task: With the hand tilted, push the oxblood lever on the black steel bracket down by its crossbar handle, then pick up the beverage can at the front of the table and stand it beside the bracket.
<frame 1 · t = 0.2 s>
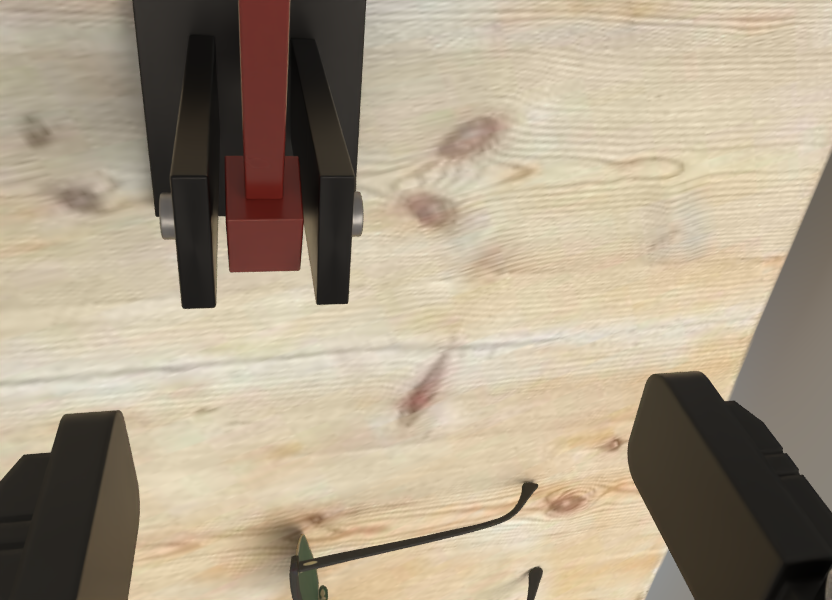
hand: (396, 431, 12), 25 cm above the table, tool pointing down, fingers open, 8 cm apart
bracket: (253, 80, 33), on the table
lever: (263, 91, 19), point 14 cm above the table, hinge at 25.0°
sunglasses: (423, 552, 55), on the table
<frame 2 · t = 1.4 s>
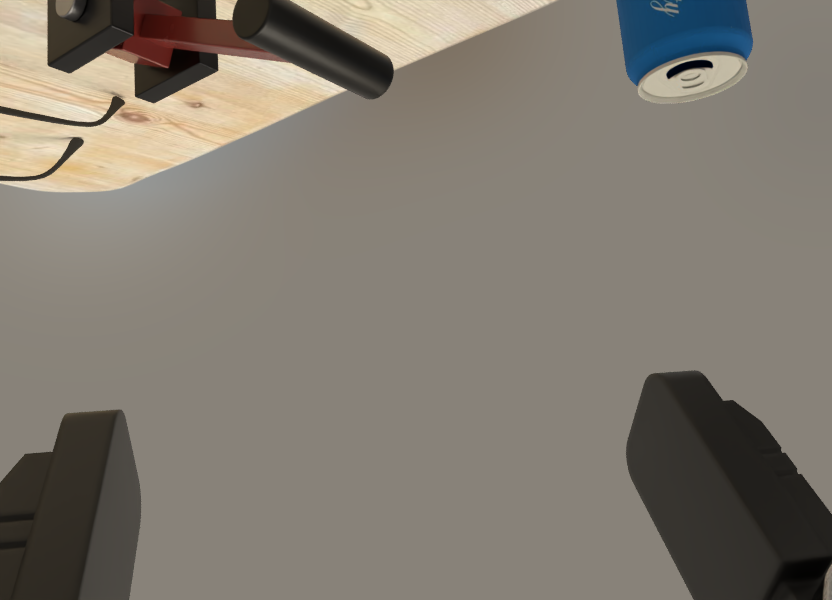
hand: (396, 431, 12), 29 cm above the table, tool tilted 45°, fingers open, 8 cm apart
lever: (211, 36, 29), point 14 cm above the table, hinge at 25.0°
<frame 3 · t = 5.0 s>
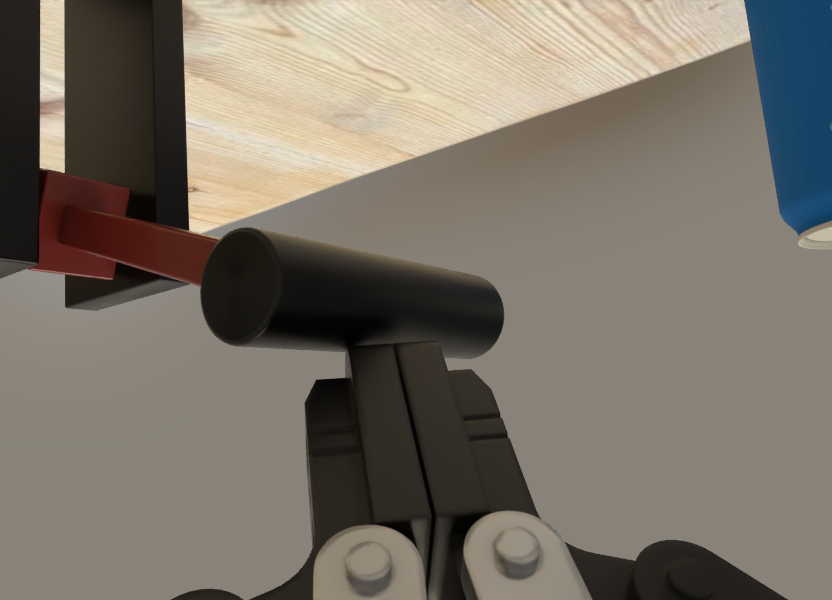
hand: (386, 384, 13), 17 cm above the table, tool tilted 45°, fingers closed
lever: (174, 251, 17), point 14 cm above the table, hinge at 20.6°, touching gripper
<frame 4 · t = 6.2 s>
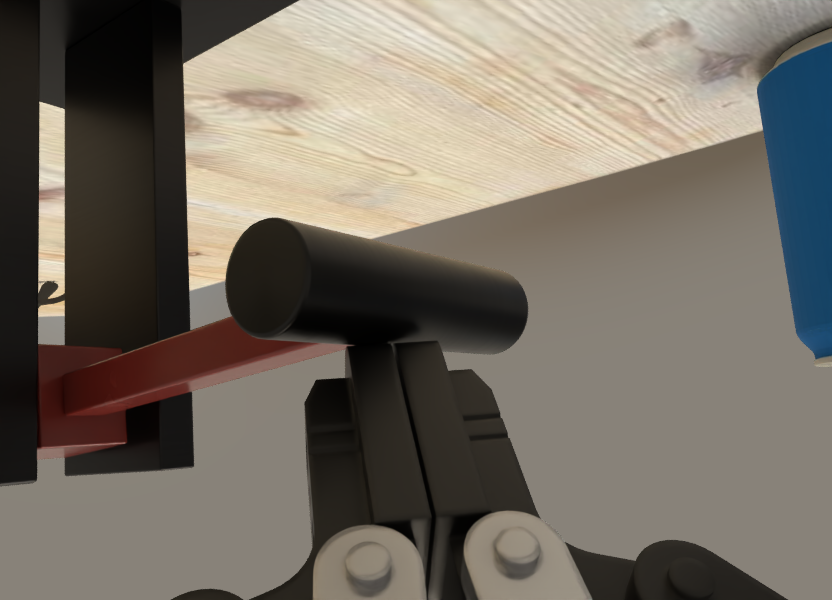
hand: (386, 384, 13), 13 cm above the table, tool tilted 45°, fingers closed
lever: (184, 364, 16), point 12 cm above the table, hinge at -4.5°, touching gripper
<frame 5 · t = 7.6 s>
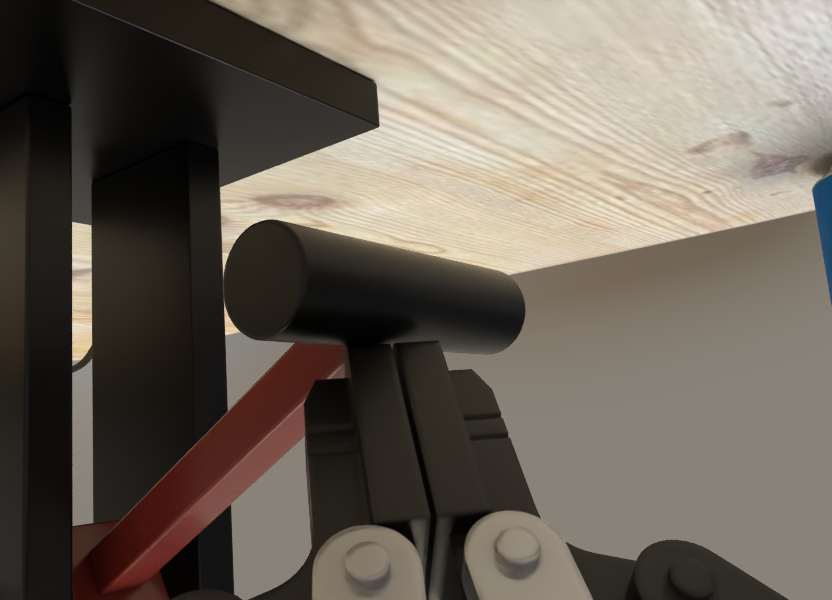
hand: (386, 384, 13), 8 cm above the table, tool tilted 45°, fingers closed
bracket: (82, 104, 20), on the table
lever: (209, 479, 16), point 9 cm above the table, hinge at -29.4°, touching gripper
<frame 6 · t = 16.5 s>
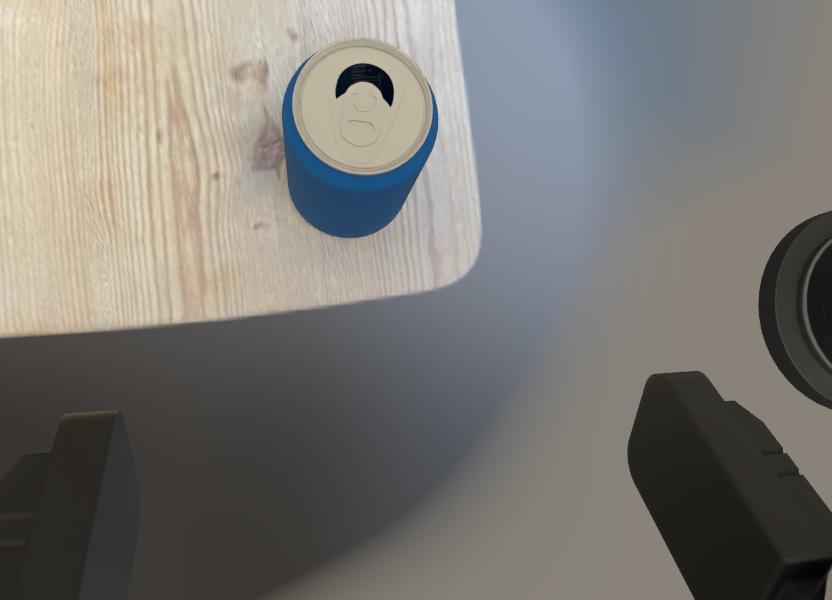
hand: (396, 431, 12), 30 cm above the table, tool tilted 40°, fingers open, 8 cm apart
beverage can: (347, 183, 43), on the table
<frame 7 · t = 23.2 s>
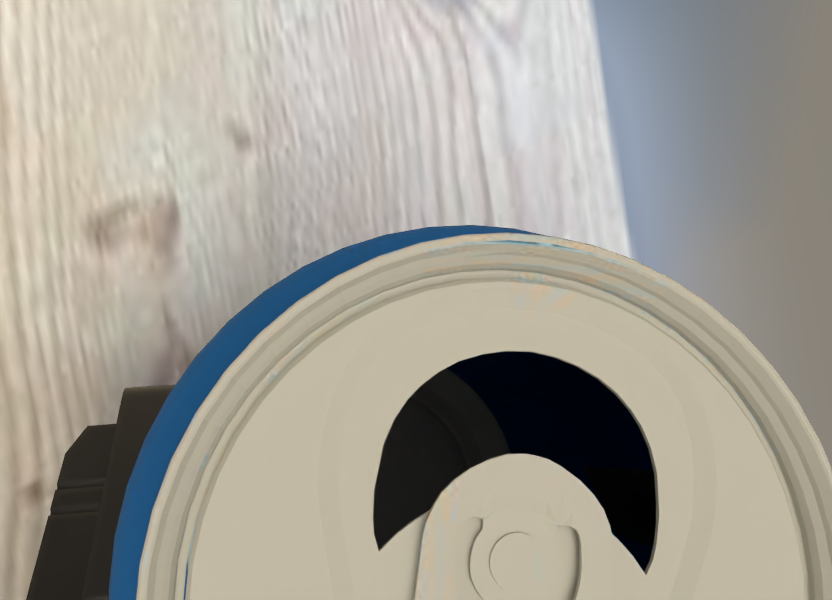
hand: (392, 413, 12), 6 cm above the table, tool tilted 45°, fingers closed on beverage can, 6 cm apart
beverage can: (366, 493, 18), on the table, touching gripper
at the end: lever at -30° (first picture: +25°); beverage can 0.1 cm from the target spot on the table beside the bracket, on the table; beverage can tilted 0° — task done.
